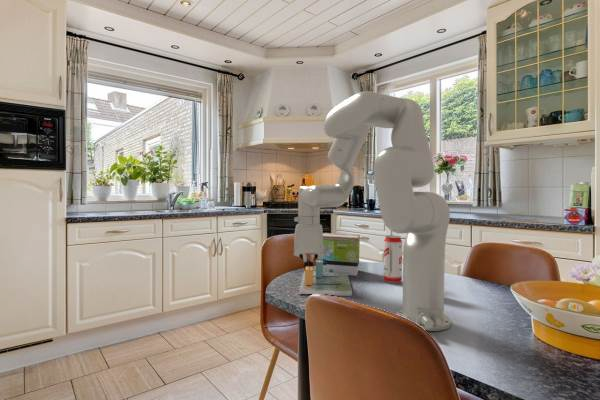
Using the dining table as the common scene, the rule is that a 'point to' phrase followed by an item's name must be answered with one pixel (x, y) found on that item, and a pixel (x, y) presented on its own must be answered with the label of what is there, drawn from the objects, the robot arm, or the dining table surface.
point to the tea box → (341, 253)
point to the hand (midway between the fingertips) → (308, 272)
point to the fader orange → (309, 275)
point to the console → (328, 284)
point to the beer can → (392, 259)
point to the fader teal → (319, 268)
